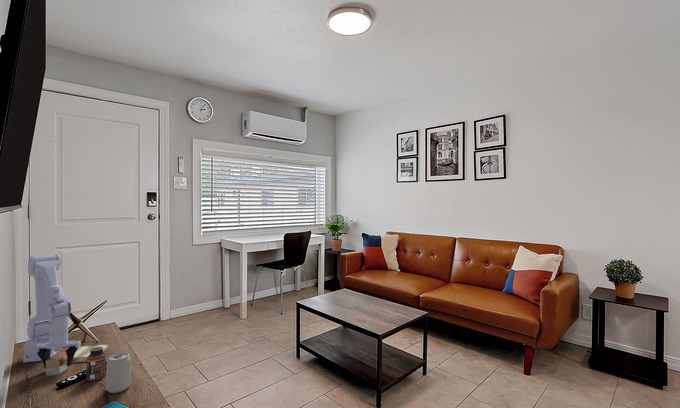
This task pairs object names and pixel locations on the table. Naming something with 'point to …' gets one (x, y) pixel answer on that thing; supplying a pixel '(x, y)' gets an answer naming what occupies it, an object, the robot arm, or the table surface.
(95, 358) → the supplement bottle
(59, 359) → the housing
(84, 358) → the stand board
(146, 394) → the table surface
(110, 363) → the can
